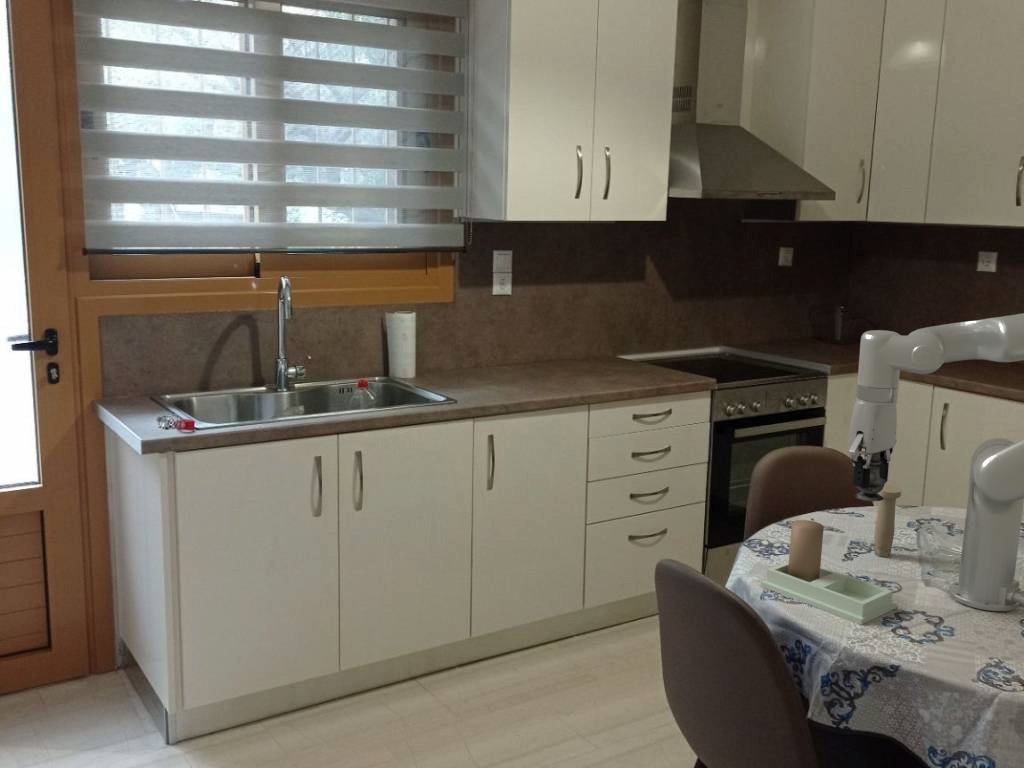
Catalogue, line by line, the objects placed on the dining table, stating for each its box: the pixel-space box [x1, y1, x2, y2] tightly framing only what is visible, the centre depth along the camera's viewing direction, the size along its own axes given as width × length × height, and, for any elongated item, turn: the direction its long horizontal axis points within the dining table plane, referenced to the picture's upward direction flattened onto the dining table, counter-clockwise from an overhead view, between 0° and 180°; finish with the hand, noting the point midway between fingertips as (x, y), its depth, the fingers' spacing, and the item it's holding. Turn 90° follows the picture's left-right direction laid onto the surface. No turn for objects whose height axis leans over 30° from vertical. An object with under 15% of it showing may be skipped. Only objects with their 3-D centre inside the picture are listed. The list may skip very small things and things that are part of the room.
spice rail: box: [760, 519, 898, 626], centre depth 191 cm, size 22×12×13 cm, turn 39°
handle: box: [873, 483, 902, 558], centre depth 214 cm, size 5×6×15 cm
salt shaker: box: [854, 449, 887, 502], centre depth 196 cm, size 6×6×12 cm
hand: (870, 482), depth 197 cm, fingers closed on salt shaker, 5 cm apart
